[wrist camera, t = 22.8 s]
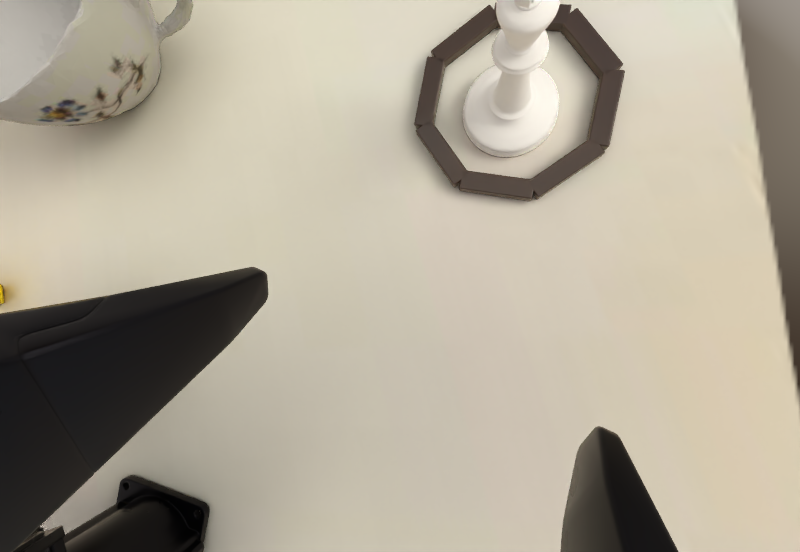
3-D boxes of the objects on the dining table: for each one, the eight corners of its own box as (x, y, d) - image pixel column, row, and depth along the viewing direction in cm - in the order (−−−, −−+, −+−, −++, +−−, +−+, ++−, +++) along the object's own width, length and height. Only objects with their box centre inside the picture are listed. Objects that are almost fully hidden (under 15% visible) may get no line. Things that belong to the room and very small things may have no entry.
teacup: (57, 170, 26) (-121, 124, 19) (52, -1, 27) (-124, -118, 19) (244, 143, 23) (126, 73, 16) (237, -51, 24) (117, -215, 16)
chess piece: (449, 143, 21) (422, 17, 11) (481, 56, 20) (482, -152, 11) (538, 168, 20) (596, 55, 10) (572, 78, 19) (666, -132, 10)
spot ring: (405, 183, 21) (402, 180, 21) (439, 7, 21) (438, -1, 20) (593, 210, 19) (596, 208, 18) (633, 15, 19) (638, 6, 18)
